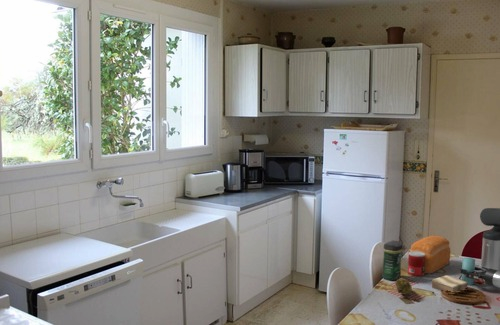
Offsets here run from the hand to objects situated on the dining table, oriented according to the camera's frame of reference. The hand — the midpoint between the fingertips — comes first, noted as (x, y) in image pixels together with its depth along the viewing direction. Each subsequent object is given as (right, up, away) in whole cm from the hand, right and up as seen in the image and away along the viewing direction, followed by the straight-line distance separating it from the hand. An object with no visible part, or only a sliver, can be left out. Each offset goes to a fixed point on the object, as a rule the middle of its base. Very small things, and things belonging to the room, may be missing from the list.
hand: (465, 269), depth 238 cm
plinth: (-11, -7, -8) cm, 16 cm away
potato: (-35, -8, -16) cm, 40 cm away
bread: (-9, -4, +25) cm, 27 cm away
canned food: (-20, -5, +12) cm, 24 cm away
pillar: (+1, -7, 0) cm, 7 cm away
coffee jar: (-34, -6, +6) cm, 35 cm away
